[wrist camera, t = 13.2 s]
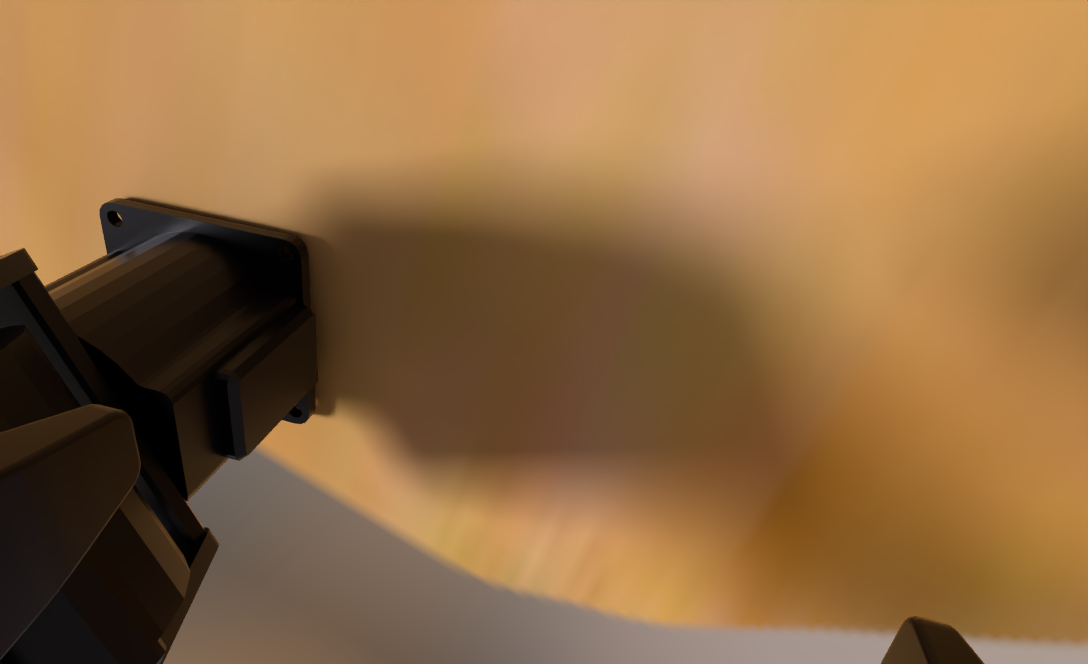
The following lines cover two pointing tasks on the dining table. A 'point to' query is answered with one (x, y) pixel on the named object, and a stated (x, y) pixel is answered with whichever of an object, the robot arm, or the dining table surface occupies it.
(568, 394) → the dining table surface
